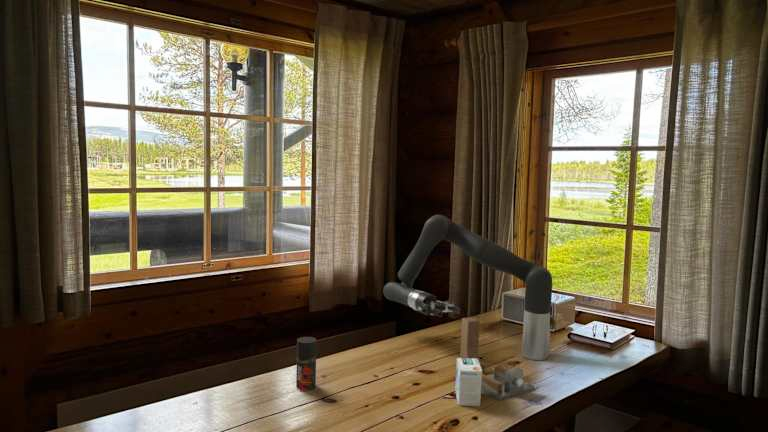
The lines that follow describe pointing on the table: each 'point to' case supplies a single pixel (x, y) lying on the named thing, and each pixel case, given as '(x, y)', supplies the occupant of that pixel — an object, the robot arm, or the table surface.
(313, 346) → the deodorant
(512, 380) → the shaft bed
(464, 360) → the light bulb box
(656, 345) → the table surface
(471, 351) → the wooden block
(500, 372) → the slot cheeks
